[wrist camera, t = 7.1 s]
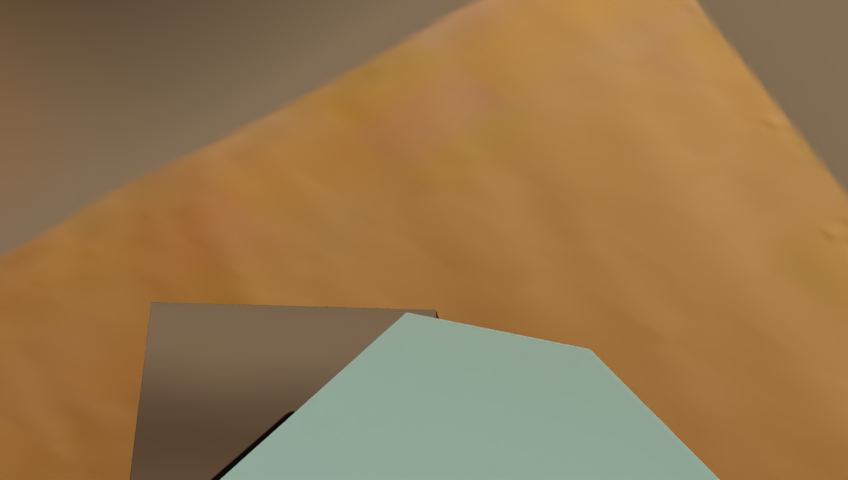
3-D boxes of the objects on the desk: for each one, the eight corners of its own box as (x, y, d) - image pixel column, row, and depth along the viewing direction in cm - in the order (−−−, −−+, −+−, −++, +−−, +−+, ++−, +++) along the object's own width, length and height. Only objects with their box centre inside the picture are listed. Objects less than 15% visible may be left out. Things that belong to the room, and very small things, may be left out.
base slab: (431, 597, 21) (426, 633, 18) (160, 582, 21) (113, 615, 18) (438, 318, 23) (436, 310, 20) (190, 311, 23) (151, 302, 20)
